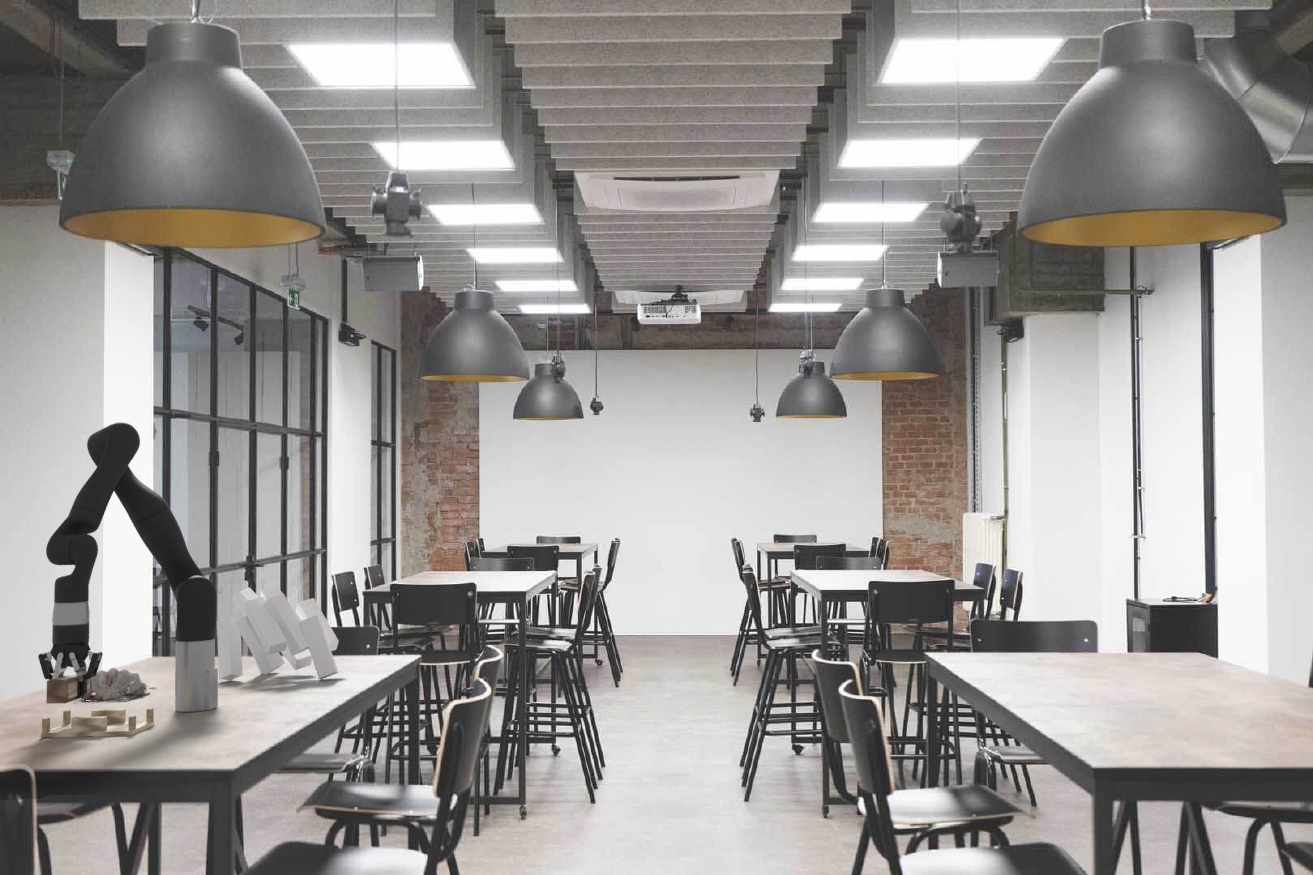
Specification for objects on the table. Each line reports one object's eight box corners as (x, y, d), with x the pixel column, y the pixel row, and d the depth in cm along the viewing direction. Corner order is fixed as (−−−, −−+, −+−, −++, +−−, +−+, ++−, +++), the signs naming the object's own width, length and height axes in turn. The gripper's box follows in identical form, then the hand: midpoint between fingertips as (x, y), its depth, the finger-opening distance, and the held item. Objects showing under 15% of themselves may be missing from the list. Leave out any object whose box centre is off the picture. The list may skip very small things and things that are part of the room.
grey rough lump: (59, 674, 299) (102, 647, 328) (54, 713, 299) (98, 683, 329) (135, 682, 301) (171, 655, 330) (130, 721, 301) (167, 690, 331)
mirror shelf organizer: (154, 725, 268) (154, 707, 268) (132, 735, 256) (132, 717, 256) (67, 727, 267) (67, 709, 267) (40, 737, 255) (41, 719, 256)
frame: (92, 694, 268) (92, 672, 268) (66, 703, 256) (66, 679, 256) (73, 694, 268) (73, 672, 268) (46, 703, 256) (46, 680, 256)
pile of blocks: (356, 687, 353) (328, 584, 367) (340, 661, 326) (311, 551, 340) (240, 726, 345) (216, 619, 359) (214, 702, 319) (190, 588, 332)
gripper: (110, 619, 267) (109, 694, 266) (48, 620, 267) (46, 695, 266) (94, 623, 259) (93, 700, 258) (30, 624, 259) (29, 701, 258)
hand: (69, 697), depth 262 cm, fingers closed on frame, 4 cm apart
